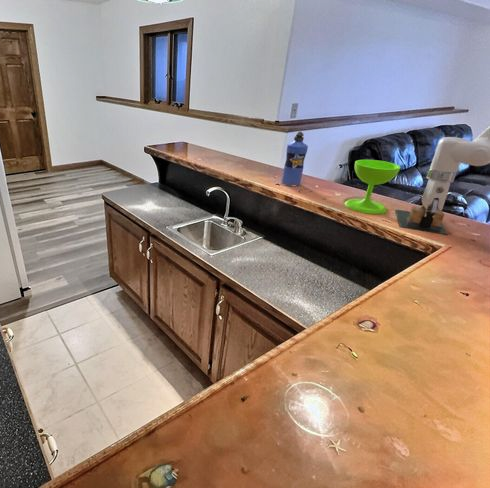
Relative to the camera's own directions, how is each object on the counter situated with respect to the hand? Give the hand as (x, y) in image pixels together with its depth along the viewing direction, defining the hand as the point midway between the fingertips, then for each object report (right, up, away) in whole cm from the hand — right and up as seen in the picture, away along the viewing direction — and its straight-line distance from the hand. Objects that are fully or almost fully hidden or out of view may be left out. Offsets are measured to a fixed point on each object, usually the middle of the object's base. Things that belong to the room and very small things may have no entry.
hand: (422, 223), depth 126 cm
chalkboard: (+2, 0, +5) cm, 5 cm away
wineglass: (-10, +8, +20) cm, 24 cm away
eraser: (0, -1, 0) cm, 1 cm away
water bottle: (-30, +23, +49) cm, 62 cm away
